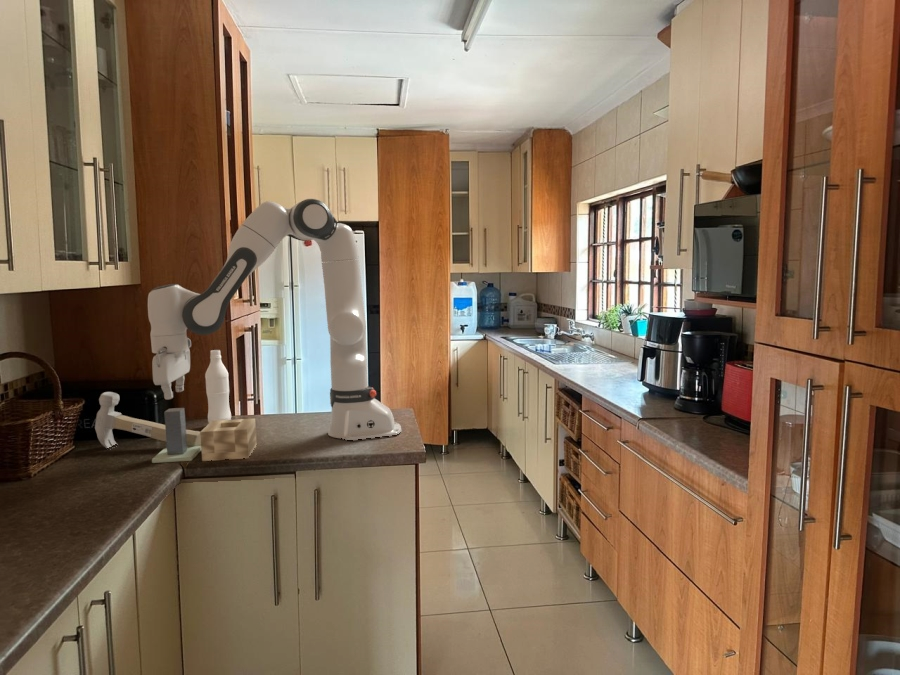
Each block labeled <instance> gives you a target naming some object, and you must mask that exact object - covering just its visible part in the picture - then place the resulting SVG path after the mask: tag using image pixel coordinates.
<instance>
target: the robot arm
mask: <svg viewBox="0 0 900 675" xmlns="http://www.w3.org/2000/svg"><path fill="white" fill-rule="evenodd" d="M241 223H242V224H241V225H240V226H239V227H238V229H237V230H236V232H235V234H234V236H232V239H231V242H230V244H229V246H228V254H227V258H226V261H225V263H224V265H223V267H222V268H221V270H220V271H219V272H218V274H217V275H216V276H215V277H214V279H213V281H212V282H211V284H210V285H209V286H208V287H207V289H205V290H204V291H203V292H202V293H198V292H194V291H191V290H189V289H187V288H184V286H183V287H182V286H181V285H179V284H178V283H170V284H164V285H161V286H160V285H159V286H157V287H154V288H153V289H151V290H150V292H148V295H147V316H148V321H149V323H150V335H149V336H150V343H151V353H153V354H155V355H154V356H153V358H152V362H151V364H152V365H151V366H152V381H153V384H154V385H155V386H161V387H160V388H161V391H162V392H163V398H164V399H165V400H172V399H173V398H174V391H172V383H173V382H175V392H176V393H181V392H183V391H185V388H184V387H185V385H184V384H185V375H186V374H188V373H190V370H191V351H190V348H191V347H192V341H191V339H190V338H189V337H188V336H187V330H189V331H190V332H191V333H194V334H196V335H201V336H207V335H212V334H213V333H215V332H217V331H218V330H219V329H220V328H221V327H222V326H223V325H224V324H223V323H224V322H225V317H226V312H227V309H228V308H227V307H228V305H229V304H230V302H231V300H232V299H233V297H234V296H235V294H236V293H237V292H238V291H239V289H240V287H241V286H242V284H243V283H244V282H245V281H246V279H247V278H249V276H250V275H251V274H252V273H253V272H254V271H256V270H257V269H258V268H259V267H261V265H263V264H264V263H265V261H267V260H268V258H270V257H271V255H272V254H273V252H274V251H275V249H277V247H278V246H279V244H281V242H282V241H283V239H285V238H286V237H290V238H292V239H295V240H298V241H302V242H307V241H315V242H316V245H317V246H318V248H319V250H320V258H321V267H322V268H321V269H322V275H323V284H324V285H323V287H324V299H325V308H326V310H325V312H326V322H327V331H328V334H329V339H330V341H329V342H330V345H329V346H330V348H329V349H330V360H329V361H330V382H331V384H330V385H331V386H330V387H331V388H330V389H329V390H330V391H329V401H330V402H329V404H330V407H331V412H330V414H331V415H330V422H329V427H328V432H327V434H328V436H330V437H331V438H336V439H341V438H342V440H344V439H345V440H344V441H347V440H353V441H359V440H358V439H362V440H367V439H366V438H371V439H376V438H375V437H380V438H383V437H382V436H389V437H393V436H392V435H397V434H399V433H400V432H401V433H402V426H401V424H400V423H399V422H397V421H395V418H394V415H393V413H392V411H391V408H389V407H388V406H387V405H385V404H383V402H381V401H379V400H378V399H376V396H377V391H376V390H375V388H374V387H371V386H369V384H368V382H369V381H368V380H369V379H368V378H369V376H368V354H367V351H368V350H367V332H366V331H367V322H366V315H365V306H364V296H363V285H362V276H361V268H360V267H361V266H360V257H359V250H358V246H357V241H356V238H355V233H354V230H352V228H351V227H350V226H349V225H347V224H345V223H341V222H338V221H337V219H336V217H335V216H334V215H333V213H332V212H331V210H330V208H329V207H328V206H327V204H325V202H323V201H322V200H319V199H316V198H307V199H303V200H301V201H300V202H298V203H296V204H295V205H293V206H292V207H290V208H287V207H284V206H282V205H281V204H280V203H278V202H276V201H270V200H268V201H263V202H262V203H261V204H259V205H258V206H257V207H256V208H255V209H254V210H253V211H252V212H251V213H250V214H249V215H248V217H246V219H245V220H244V221H243V222H241ZM401 433H400V434H401ZM400 434H399V435H400ZM397 436H398V435H397Z"/></svg>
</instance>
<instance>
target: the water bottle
mask: <svg viewBox="0 0 900 675" xmlns="http://www.w3.org/2000/svg"><path fill="white" fill-rule="evenodd" d="M209 356H210V357H209V359H210V360H209V361H210V362H209V365H208V367H207V369H206V371H205V374H204V378H205V389H206V391H205V392H206V396H207V404H208V405H207V406H208V410H207V411H208V413H207V422H208V424H209V423H210V422H211V421H215V420H232V413H231V408H230V402H229V401H230V399H229V398H230V397H229V396H230V381H229V372H228V369H227V368H226V366H225V365H224V363H223V361H222V355H221V350H220V349H214V350H213V349H212V350H210V355H209Z"/></svg>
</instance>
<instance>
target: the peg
mask: <svg viewBox="0 0 900 675" xmlns="http://www.w3.org/2000/svg"><path fill="white" fill-rule="evenodd" d="M163 414H164V415H163V416H164V425H165V428H166V441H167V442H166V441H165V442H166V448H167V455H179V454H184V453H185V452H186V451H187V438H186V430H187V427H186V425H187V424H186V413H185V407H175V408H168V409H166V410H165V411H164V412H163Z"/></svg>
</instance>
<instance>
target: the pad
mask: <svg viewBox="0 0 900 675" xmlns="http://www.w3.org/2000/svg"><path fill="white" fill-rule="evenodd" d="M200 452H202V451H201V445H200V446H194V447H187V451H186V452H185V453H184V454H179V455H167V447H164V448H163V449H162V450H161V451H159V452H158V453H157V454H156V455H155V456H154V457H152V459H151V463H152V464H155V463H156V464H157V463H159V464H160V463H172V462H175V463H176V462H188V461H190V462H191V461H193V459H194V458H195V457H196V456H197V455H198V454H199V453H200Z"/></svg>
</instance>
